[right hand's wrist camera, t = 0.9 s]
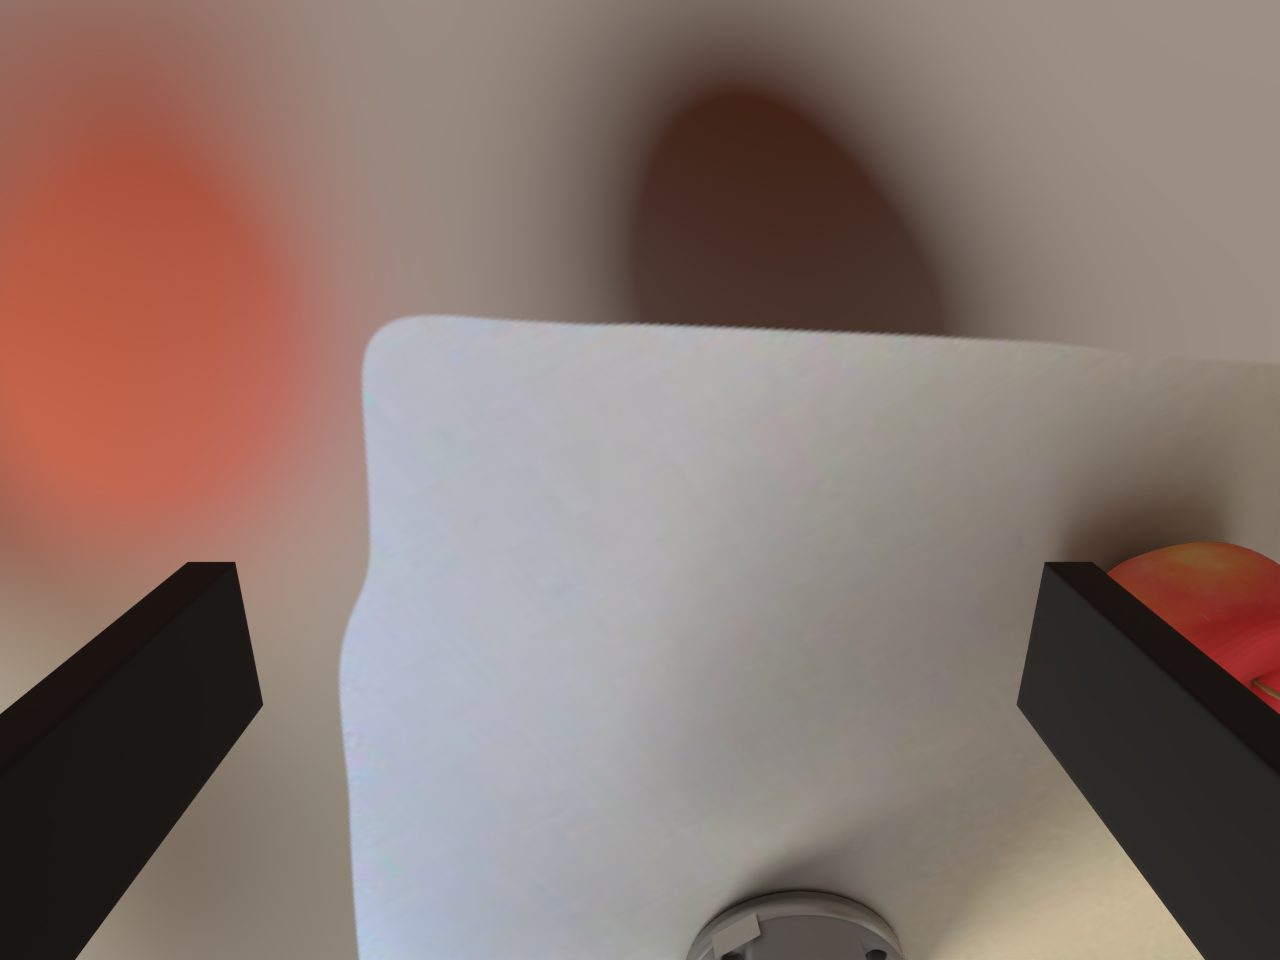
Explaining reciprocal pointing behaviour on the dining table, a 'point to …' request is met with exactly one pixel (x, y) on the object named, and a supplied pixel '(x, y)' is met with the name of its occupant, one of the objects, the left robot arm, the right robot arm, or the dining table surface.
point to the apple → (1216, 605)
